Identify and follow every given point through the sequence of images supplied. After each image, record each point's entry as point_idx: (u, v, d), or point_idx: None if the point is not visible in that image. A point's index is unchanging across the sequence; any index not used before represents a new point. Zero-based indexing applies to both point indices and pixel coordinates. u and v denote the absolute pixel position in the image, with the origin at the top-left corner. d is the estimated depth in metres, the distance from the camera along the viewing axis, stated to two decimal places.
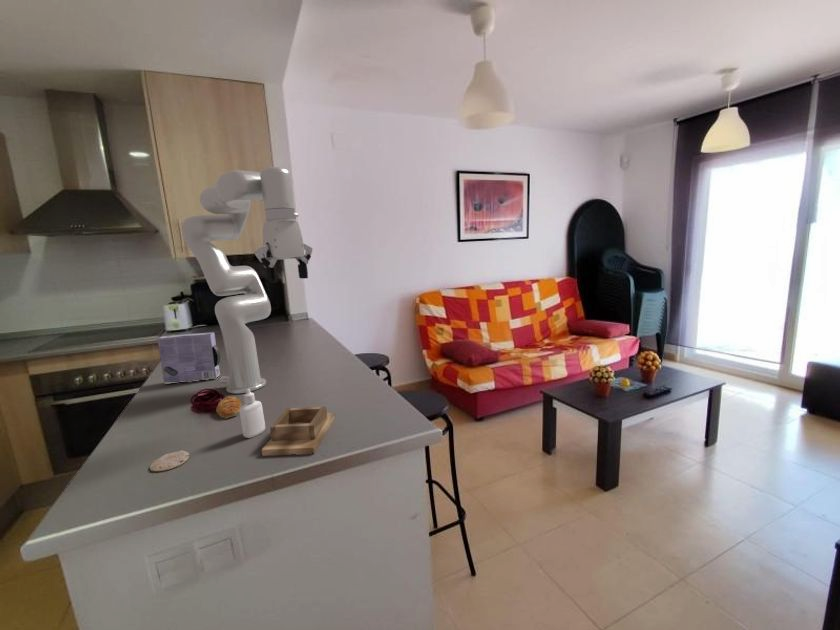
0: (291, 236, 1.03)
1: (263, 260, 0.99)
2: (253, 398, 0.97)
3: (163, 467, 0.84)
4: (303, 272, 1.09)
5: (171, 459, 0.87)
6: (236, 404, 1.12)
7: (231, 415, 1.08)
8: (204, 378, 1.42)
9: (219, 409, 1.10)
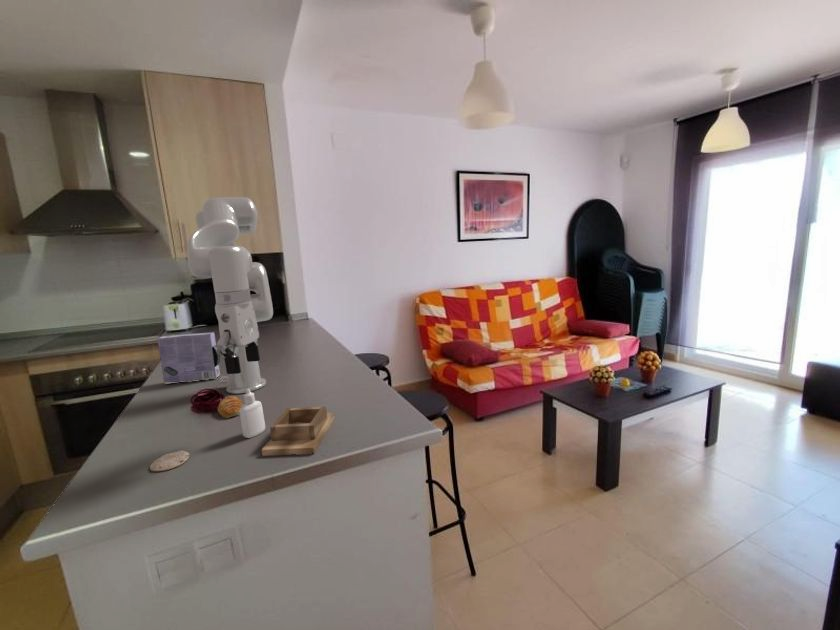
0: None
1: None
2: (253, 398, 0.97)
3: (163, 467, 0.84)
4: None
5: (171, 459, 0.87)
6: (237, 403, 1.12)
7: (233, 414, 1.09)
8: (204, 378, 1.42)
9: (221, 408, 1.10)
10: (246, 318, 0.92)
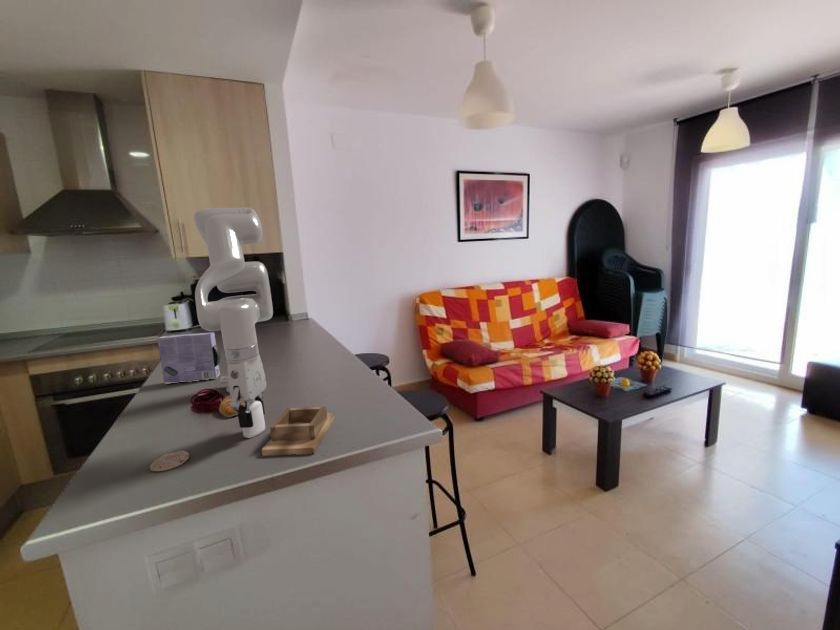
0: None
1: None
2: None
3: (163, 467, 0.84)
4: None
5: (171, 459, 0.87)
6: None
7: (234, 414, 1.09)
8: (204, 378, 1.42)
9: (222, 408, 1.11)
10: (254, 372, 0.95)
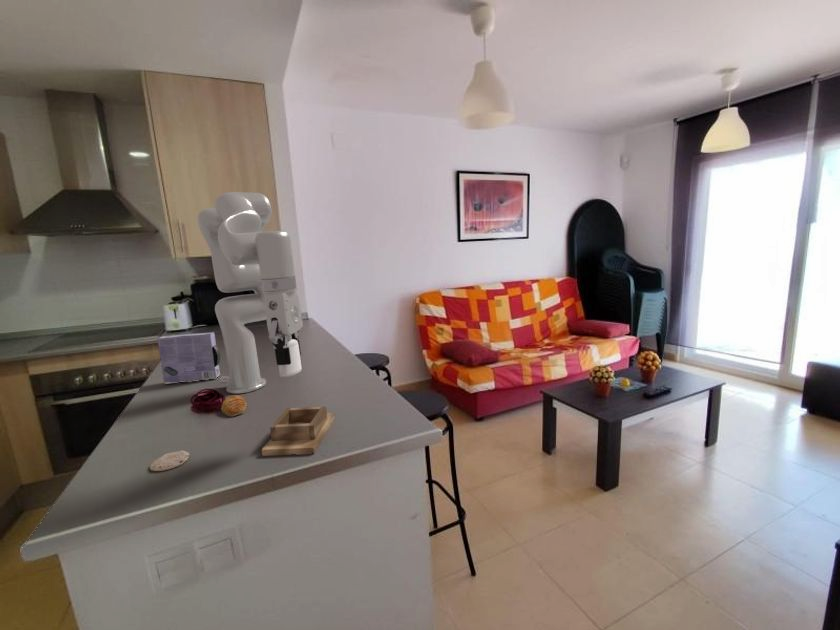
0: None
1: None
2: (290, 335, 0.91)
3: (163, 467, 0.84)
4: None
5: (171, 459, 0.87)
6: (242, 402, 1.13)
7: (238, 413, 1.10)
8: (204, 378, 1.42)
9: (225, 407, 1.11)
10: (292, 306, 0.89)
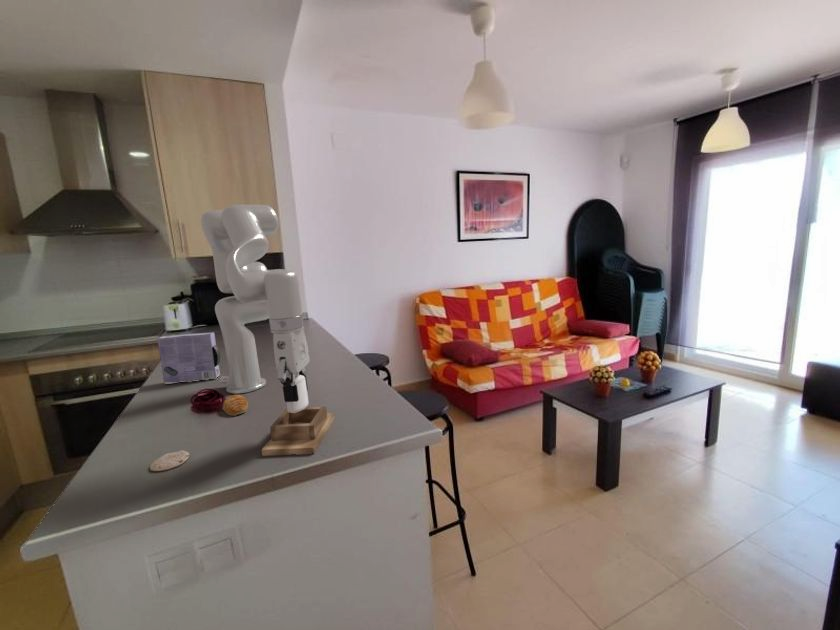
0: None
1: None
2: None
3: (162, 467, 0.84)
4: None
5: (171, 459, 0.87)
6: (243, 401, 1.13)
7: (239, 412, 1.10)
8: (204, 378, 1.42)
9: (226, 407, 1.11)
10: (300, 344, 0.91)
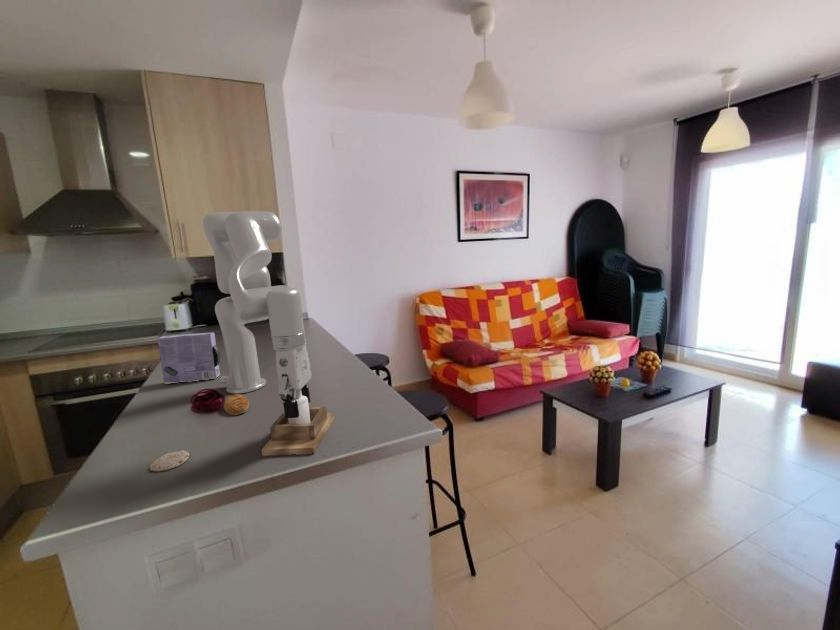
0: None
1: None
2: (300, 392, 0.94)
3: (162, 467, 0.84)
4: None
5: (171, 459, 0.87)
6: (244, 401, 1.14)
7: (241, 412, 1.10)
8: (204, 378, 1.42)
9: (228, 406, 1.12)
10: (302, 360, 0.91)
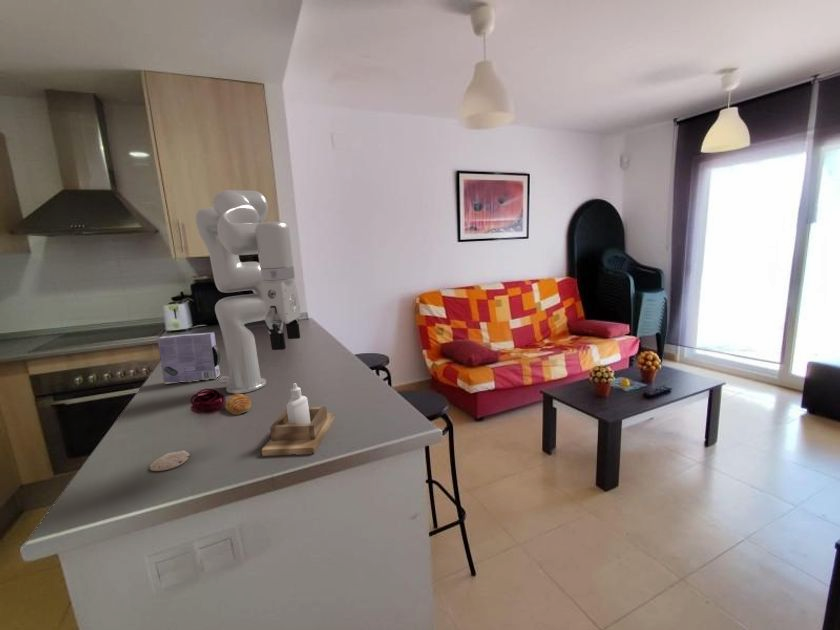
0: None
1: None
2: (300, 393, 0.94)
3: (162, 467, 0.84)
4: None
5: (171, 459, 0.87)
6: (246, 400, 1.14)
7: (243, 411, 1.11)
8: (204, 378, 1.42)
9: (230, 406, 1.12)
10: (290, 295, 0.92)
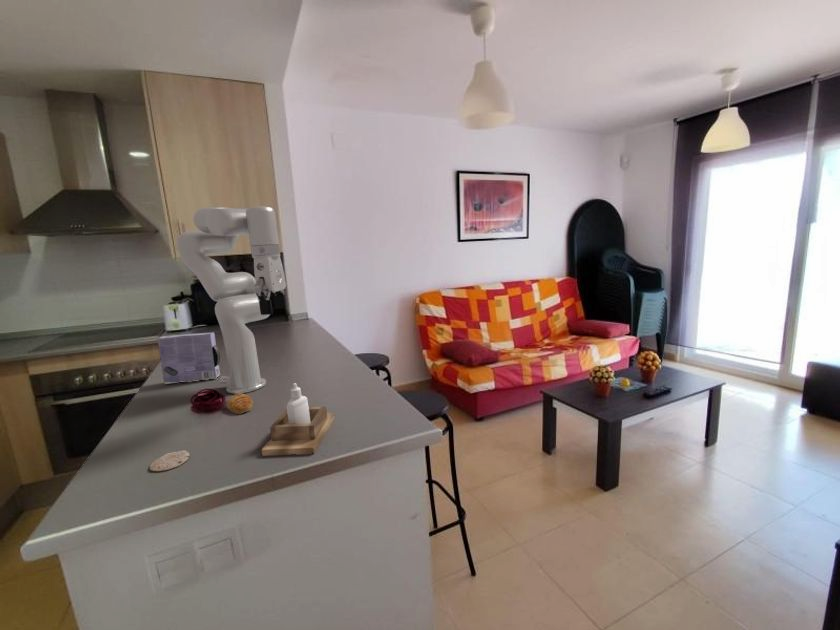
0: None
1: None
2: (300, 393, 0.94)
3: (161, 467, 0.84)
4: None
5: (171, 459, 0.87)
6: (248, 400, 1.14)
7: (245, 410, 1.11)
8: (204, 378, 1.42)
9: (232, 405, 1.12)
10: (276, 268, 1.09)
